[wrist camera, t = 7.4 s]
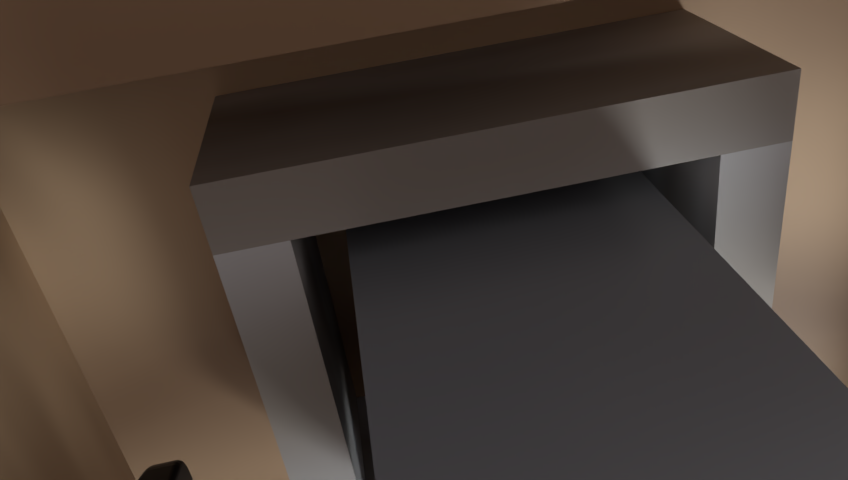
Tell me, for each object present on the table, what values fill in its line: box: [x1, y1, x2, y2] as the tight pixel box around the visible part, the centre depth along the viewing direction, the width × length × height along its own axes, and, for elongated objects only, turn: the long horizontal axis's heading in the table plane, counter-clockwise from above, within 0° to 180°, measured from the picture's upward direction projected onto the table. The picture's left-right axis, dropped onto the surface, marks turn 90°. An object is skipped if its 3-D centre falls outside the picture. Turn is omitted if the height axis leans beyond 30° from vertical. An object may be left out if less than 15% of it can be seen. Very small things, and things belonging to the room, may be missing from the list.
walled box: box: [0, 0, 848, 480], centre depth 12 cm, size 16×18×5 cm
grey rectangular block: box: [346, 171, 848, 480], centre depth 9 cm, size 4×4×8 cm
